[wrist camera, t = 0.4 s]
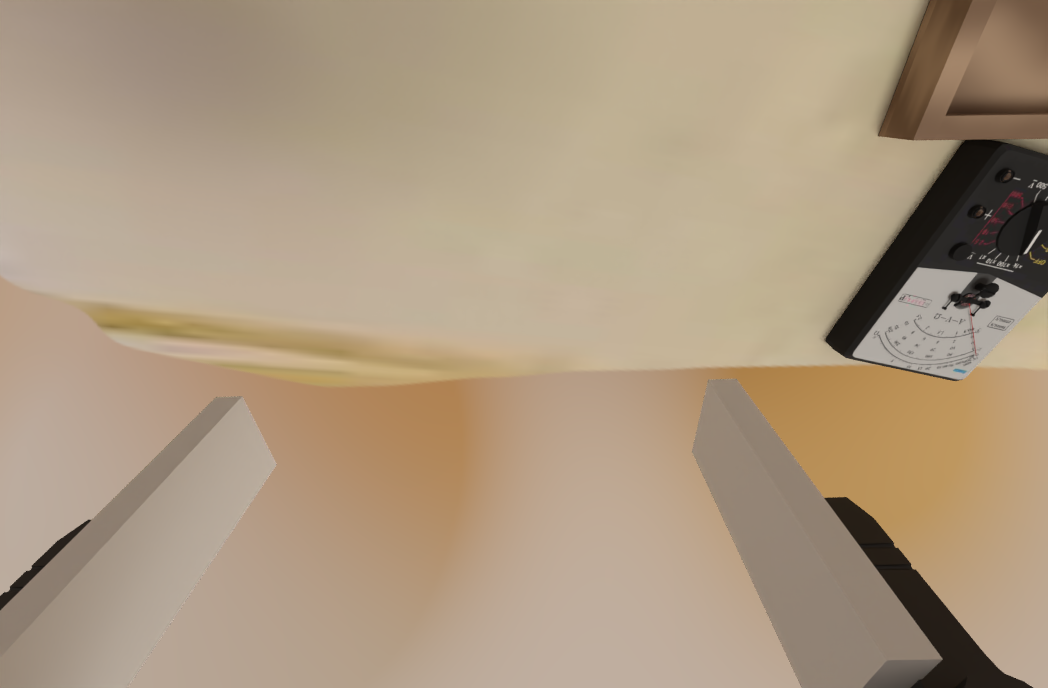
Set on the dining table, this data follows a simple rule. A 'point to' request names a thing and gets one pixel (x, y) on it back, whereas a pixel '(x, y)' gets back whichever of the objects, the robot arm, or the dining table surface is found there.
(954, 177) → the multimeter
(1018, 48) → the tray
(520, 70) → the dining table surface
